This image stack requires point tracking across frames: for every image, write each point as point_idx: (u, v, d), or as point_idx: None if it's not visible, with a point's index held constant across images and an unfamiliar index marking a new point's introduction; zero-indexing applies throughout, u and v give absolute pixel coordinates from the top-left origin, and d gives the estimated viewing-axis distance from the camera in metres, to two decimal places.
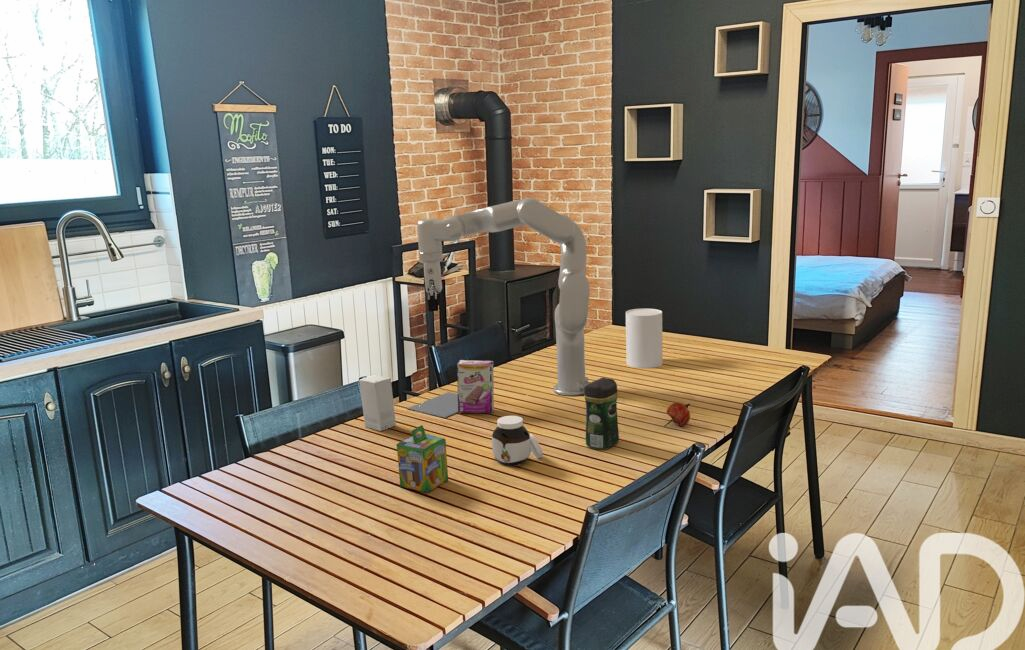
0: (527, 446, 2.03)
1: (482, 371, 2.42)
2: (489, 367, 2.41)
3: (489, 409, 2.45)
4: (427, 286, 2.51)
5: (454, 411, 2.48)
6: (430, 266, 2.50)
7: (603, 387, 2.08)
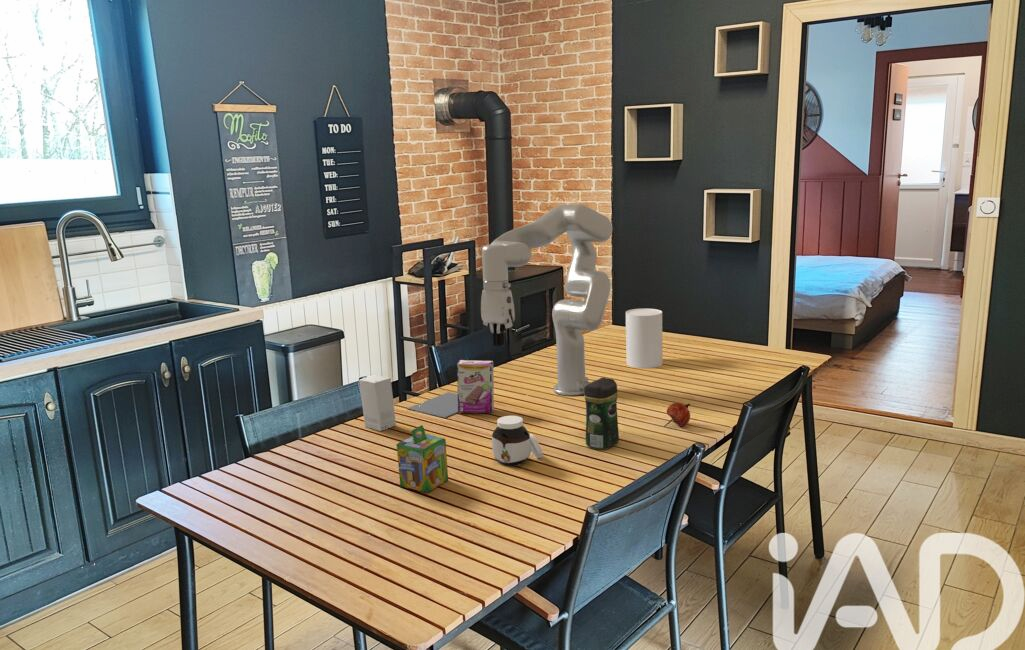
0: (527, 446, 2.03)
1: (482, 371, 2.42)
2: (489, 367, 2.41)
3: (489, 409, 2.45)
4: (507, 317, 2.30)
5: (454, 411, 2.48)
6: (508, 294, 2.30)
7: (603, 387, 2.08)
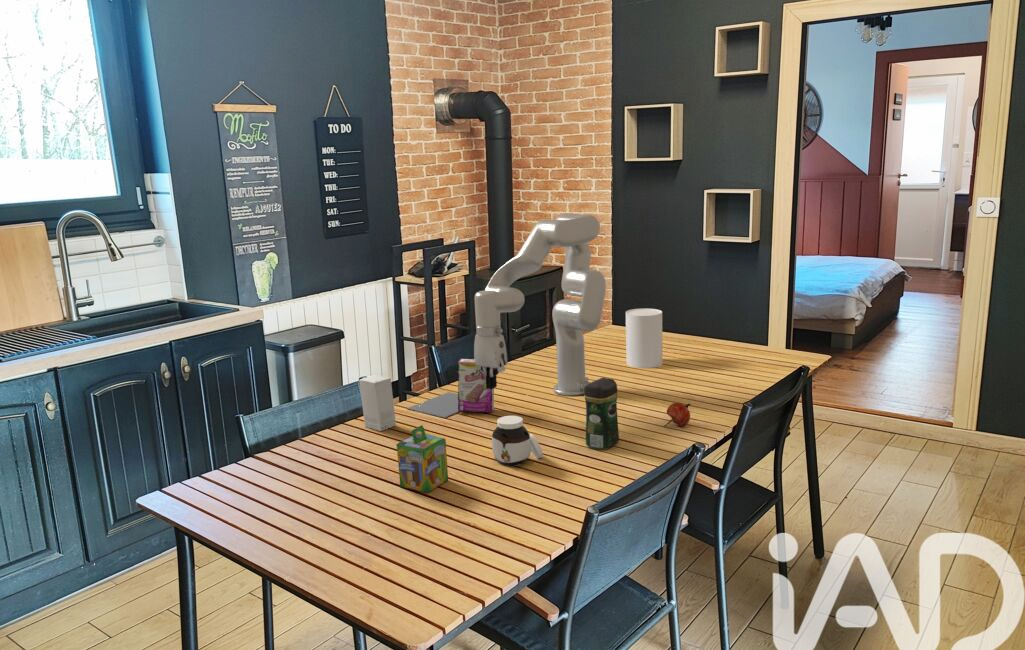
0: (527, 446, 2.03)
1: None
2: None
3: (489, 407, 2.45)
4: (499, 361, 2.35)
5: (454, 411, 2.48)
6: (500, 340, 2.35)
7: (603, 387, 2.08)
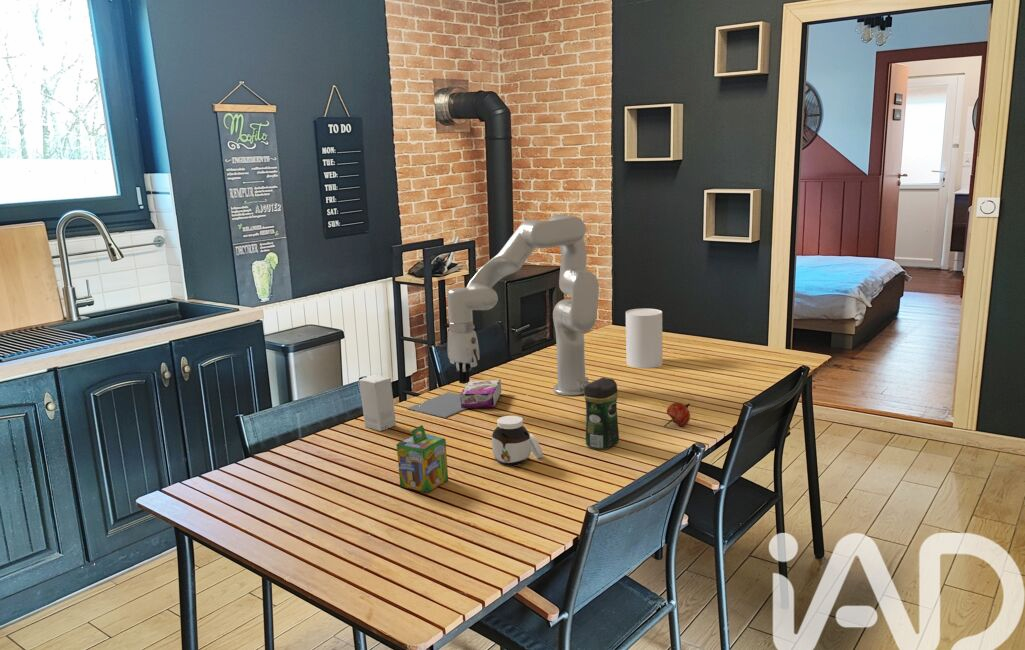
0: (527, 446, 2.03)
1: (491, 380, 2.62)
2: (498, 379, 2.63)
3: (491, 392, 2.50)
4: (471, 356, 2.42)
5: (454, 411, 2.48)
6: (472, 335, 2.42)
7: (603, 387, 2.08)
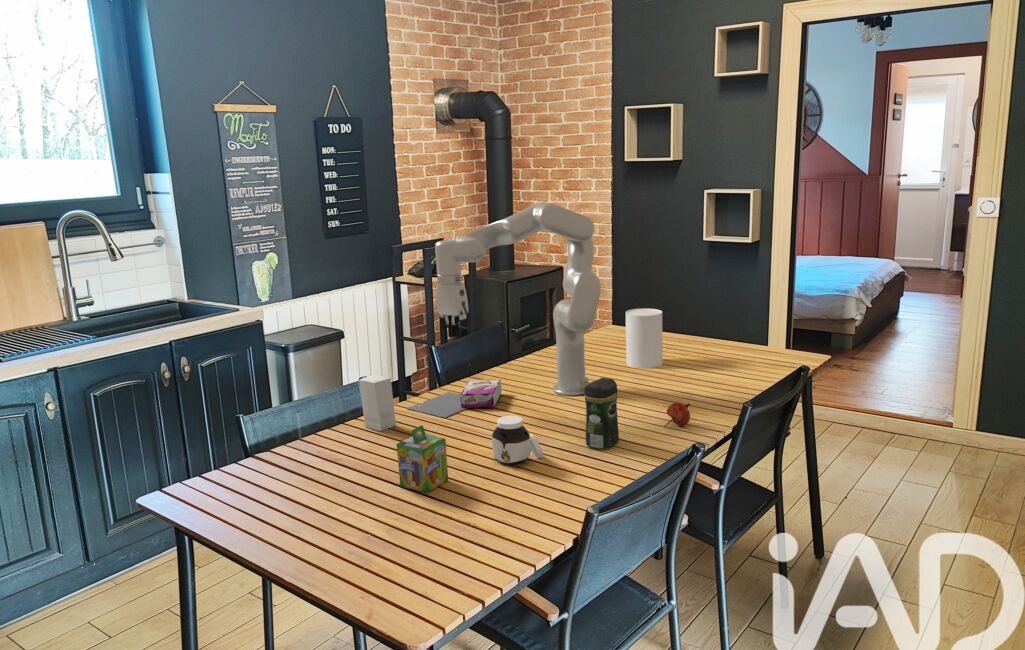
0: (527, 446, 2.03)
1: (491, 380, 2.62)
2: (498, 379, 2.63)
3: (491, 392, 2.50)
4: (460, 309, 2.41)
5: (454, 411, 2.48)
6: (461, 288, 2.41)
7: (603, 387, 2.08)
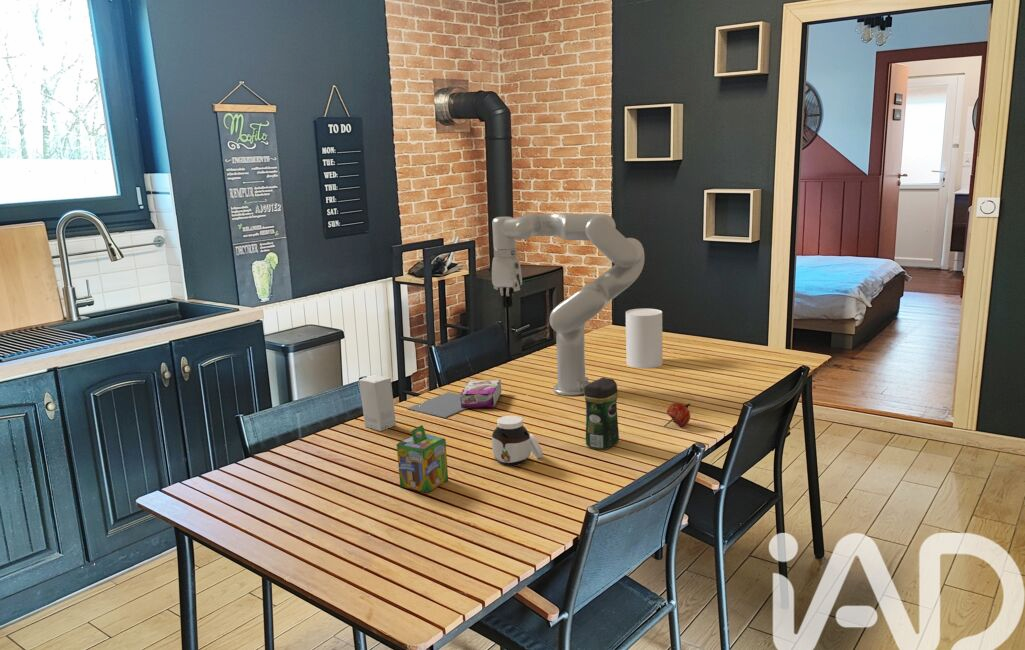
0: (527, 446, 2.03)
1: (491, 380, 2.62)
2: (498, 379, 2.63)
3: (491, 392, 2.50)
4: (515, 281, 2.59)
5: (454, 411, 2.48)
6: (516, 261, 2.59)
7: (603, 387, 2.08)
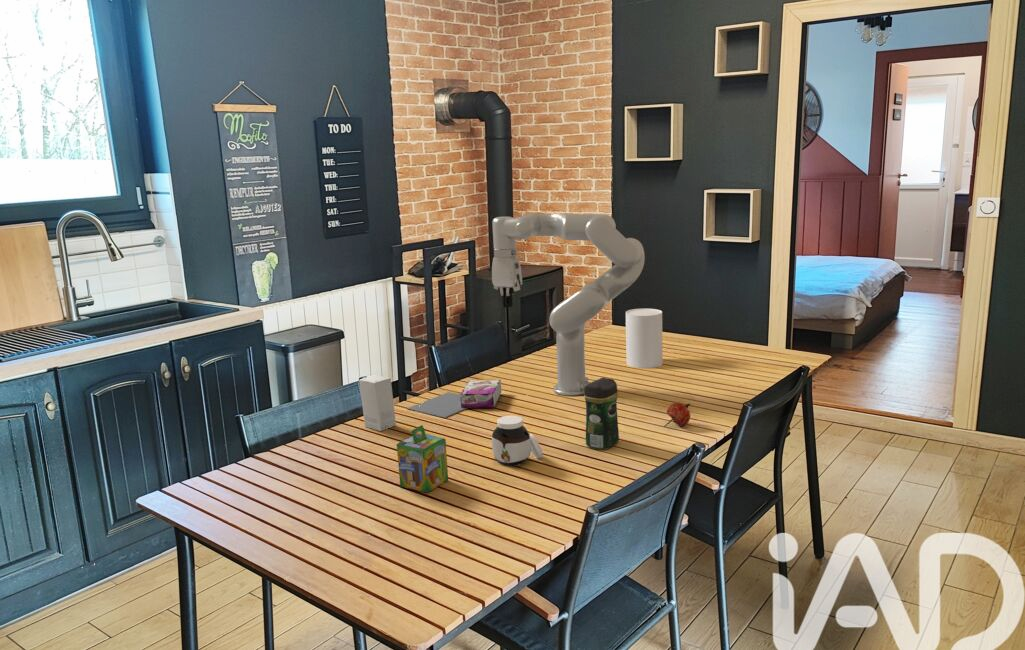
0: (527, 446, 2.03)
1: (491, 380, 2.62)
2: (498, 379, 2.63)
3: (491, 392, 2.50)
4: (515, 281, 2.59)
5: (454, 411, 2.48)
6: (516, 261, 2.59)
7: (603, 387, 2.08)
